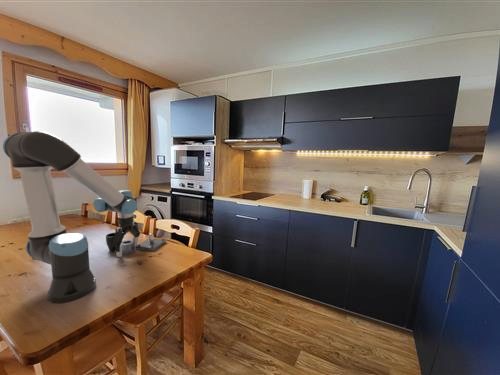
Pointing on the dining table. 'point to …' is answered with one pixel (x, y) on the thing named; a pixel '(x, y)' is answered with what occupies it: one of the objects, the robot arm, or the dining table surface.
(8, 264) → the dining table surface
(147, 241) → the shaft block
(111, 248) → the mug
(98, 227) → the dining table surface
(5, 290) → the dining table surface
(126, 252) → the hub
